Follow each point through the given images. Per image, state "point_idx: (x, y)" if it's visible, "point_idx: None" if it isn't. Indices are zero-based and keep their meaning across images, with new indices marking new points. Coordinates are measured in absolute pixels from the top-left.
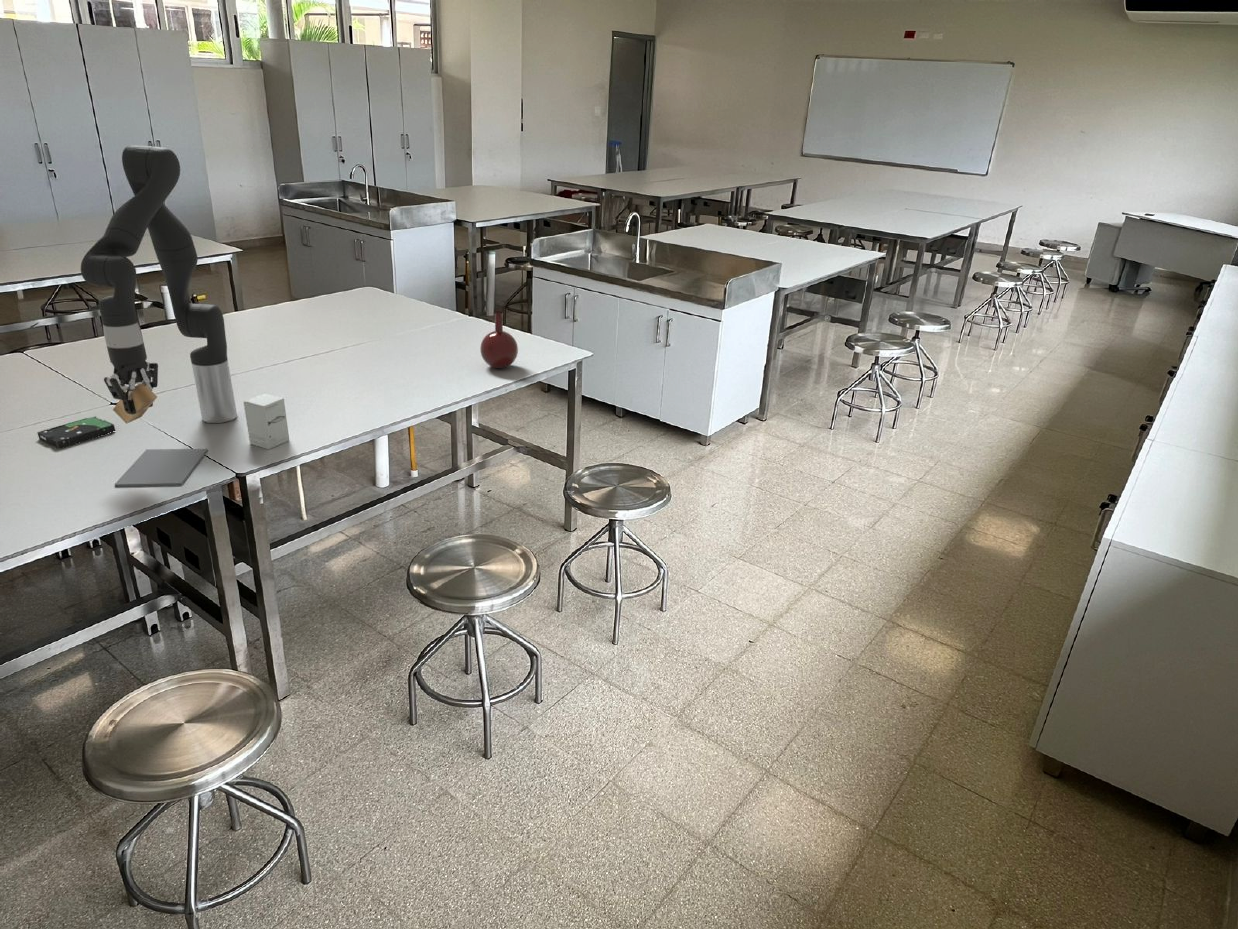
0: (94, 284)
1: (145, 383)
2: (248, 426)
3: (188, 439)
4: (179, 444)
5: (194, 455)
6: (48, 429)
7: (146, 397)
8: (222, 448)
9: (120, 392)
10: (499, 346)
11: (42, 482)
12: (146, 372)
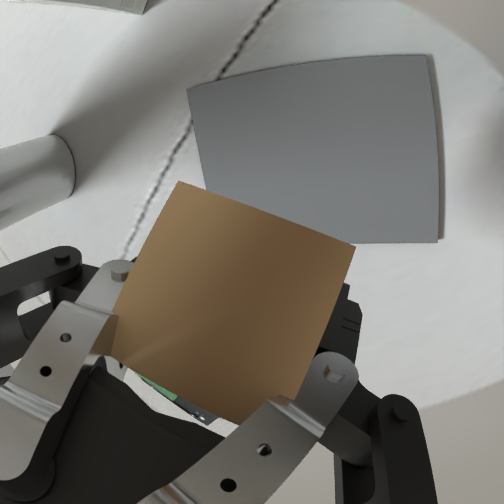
0: None
1: (105, 330)
2: (107, 2)
3: (142, 175)
4: (169, 182)
5: (233, 99)
6: (193, 416)
7: (257, 249)
8: (172, 61)
9: (412, 472)
10: None
11: (390, 383)
12: (6, 358)
